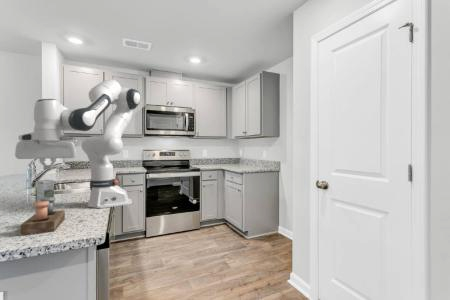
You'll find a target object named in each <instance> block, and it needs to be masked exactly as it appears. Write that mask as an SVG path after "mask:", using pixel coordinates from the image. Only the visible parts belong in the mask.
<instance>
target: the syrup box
mask: <svg viewBox="0 0 450 300" xmlns="http://www.w3.org/2000/svg"><path fill="white" fill-rule="evenodd" d="M47 197H55V180H53V179H44V180H42V179H41V180H36V181H35V199H34V200H35V202H34V203H36V202H41V199H42V198H47Z"/></svg>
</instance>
